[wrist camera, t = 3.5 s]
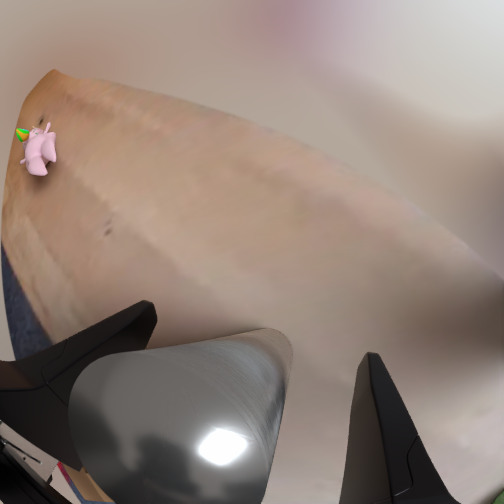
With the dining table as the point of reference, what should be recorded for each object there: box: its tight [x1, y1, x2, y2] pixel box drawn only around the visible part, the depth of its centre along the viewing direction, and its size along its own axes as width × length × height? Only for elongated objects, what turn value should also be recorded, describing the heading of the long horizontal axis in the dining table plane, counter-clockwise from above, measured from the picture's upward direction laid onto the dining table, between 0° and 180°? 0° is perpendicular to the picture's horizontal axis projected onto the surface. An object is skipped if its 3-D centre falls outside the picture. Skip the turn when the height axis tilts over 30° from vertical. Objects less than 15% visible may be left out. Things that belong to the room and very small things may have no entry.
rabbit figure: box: [16, 123, 56, 176], centre depth 21 cm, size 6×6×15 cm
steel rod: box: [68, 328, 293, 504], centre depth 9 cm, size 3×3×13 cm
